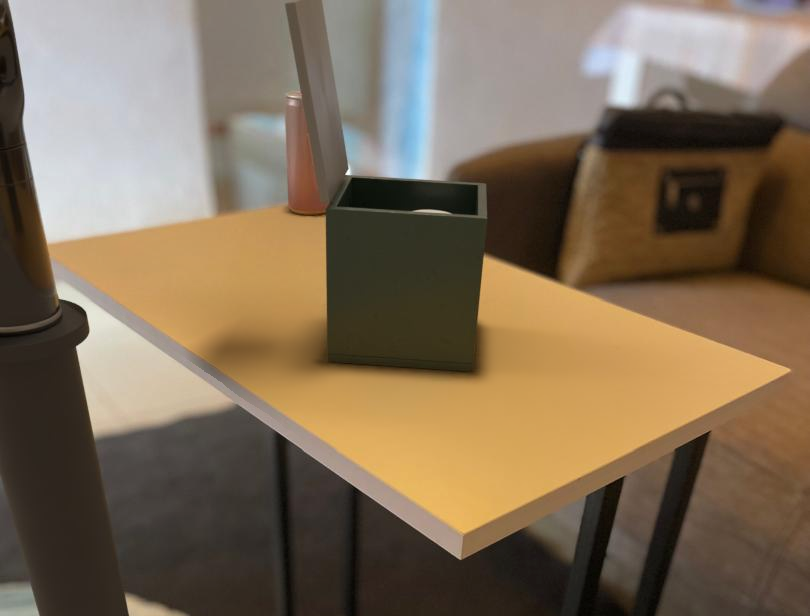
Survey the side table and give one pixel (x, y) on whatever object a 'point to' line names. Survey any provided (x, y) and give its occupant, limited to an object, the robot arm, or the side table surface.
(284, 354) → the side table surface
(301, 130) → the beverage can
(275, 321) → the side table surface
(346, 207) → the trash bin
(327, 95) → the bin lid
